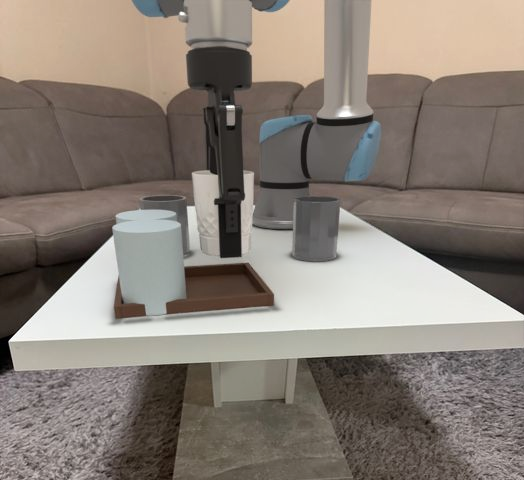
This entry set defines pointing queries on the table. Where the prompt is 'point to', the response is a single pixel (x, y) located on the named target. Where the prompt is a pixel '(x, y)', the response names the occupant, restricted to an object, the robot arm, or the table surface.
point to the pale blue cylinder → (150, 263)
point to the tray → (209, 291)
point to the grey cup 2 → (315, 228)
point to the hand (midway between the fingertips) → (225, 249)
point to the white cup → (208, 212)
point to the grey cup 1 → (170, 204)
